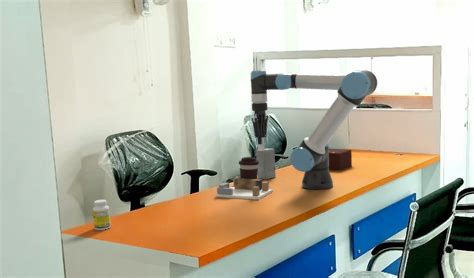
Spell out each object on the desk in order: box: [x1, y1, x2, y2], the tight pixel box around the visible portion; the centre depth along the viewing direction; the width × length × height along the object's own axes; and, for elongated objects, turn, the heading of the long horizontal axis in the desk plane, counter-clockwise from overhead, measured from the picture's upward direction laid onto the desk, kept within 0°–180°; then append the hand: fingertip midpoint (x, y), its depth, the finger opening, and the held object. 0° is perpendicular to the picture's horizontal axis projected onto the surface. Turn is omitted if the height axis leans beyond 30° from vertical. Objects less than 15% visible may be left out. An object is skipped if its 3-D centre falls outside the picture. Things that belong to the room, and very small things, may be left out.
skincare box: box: [255, 147, 276, 180], centre depth 300 cm, size 8×7×16 cm
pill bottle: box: [92, 199, 111, 231], centre depth 217 cm, size 6×6×11 cm
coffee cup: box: [238, 156, 259, 179], centre depth 277 cm, size 10×10×15 cm
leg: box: [233, 176, 263, 190], centre depth 269 cm, size 14×3×5 cm, turn 64°
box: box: [329, 147, 353, 172], centre depth 323 cm, size 21×16×10 cm
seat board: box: [215, 181, 273, 200], centre depth 264 cm, size 22×16×5 cm
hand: (261, 150), depth 272 cm, fingers closed
